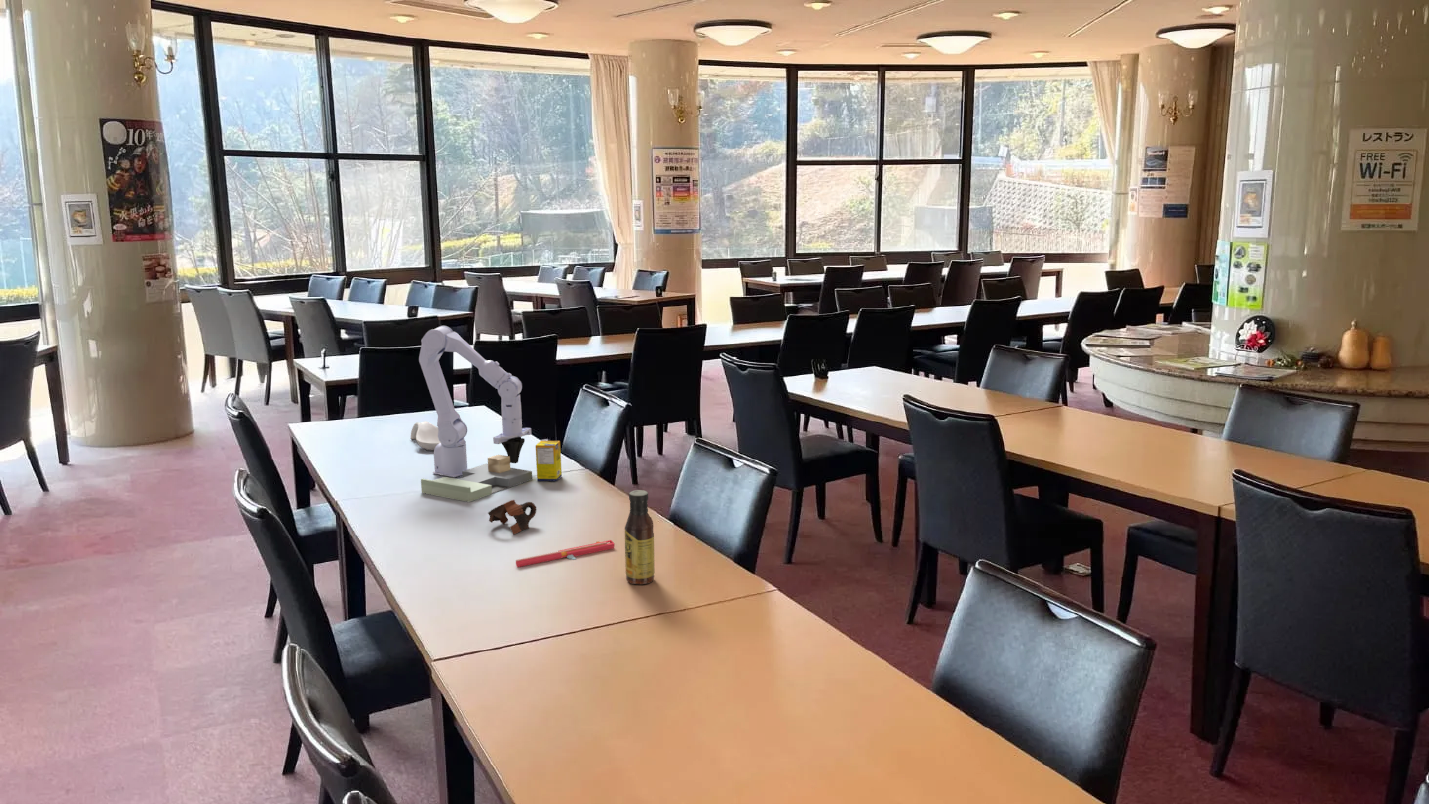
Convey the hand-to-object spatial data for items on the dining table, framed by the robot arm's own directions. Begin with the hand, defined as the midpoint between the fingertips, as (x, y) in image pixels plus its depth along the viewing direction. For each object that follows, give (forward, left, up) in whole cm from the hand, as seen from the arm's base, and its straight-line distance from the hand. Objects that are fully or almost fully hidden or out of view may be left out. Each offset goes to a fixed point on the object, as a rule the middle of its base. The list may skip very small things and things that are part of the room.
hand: (513, 462), depth 303 cm
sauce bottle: (+83, -53, -4) cm, 99 cm away
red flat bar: (+60, -50, -4) cm, 78 cm away
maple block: (0, -6, -1) cm, 6 cm away
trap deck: (0, -15, -3) cm, 16 cm away
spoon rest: (-50, +14, -4) cm, 53 cm away
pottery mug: (+35, -39, -4) cm, 52 cm away
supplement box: (+13, +1, -4) cm, 14 cm away
